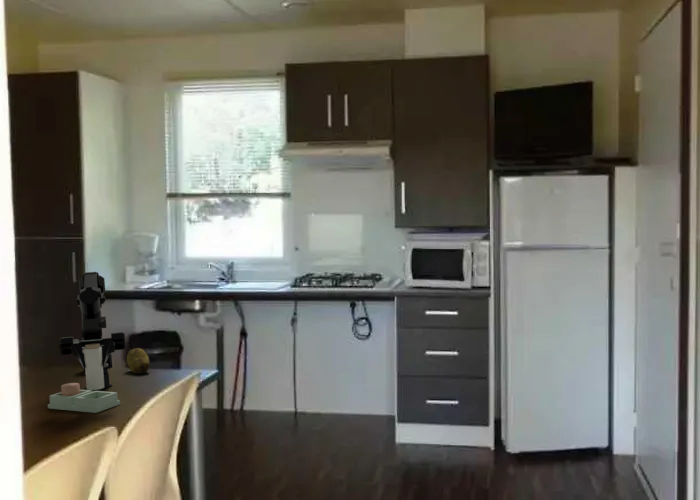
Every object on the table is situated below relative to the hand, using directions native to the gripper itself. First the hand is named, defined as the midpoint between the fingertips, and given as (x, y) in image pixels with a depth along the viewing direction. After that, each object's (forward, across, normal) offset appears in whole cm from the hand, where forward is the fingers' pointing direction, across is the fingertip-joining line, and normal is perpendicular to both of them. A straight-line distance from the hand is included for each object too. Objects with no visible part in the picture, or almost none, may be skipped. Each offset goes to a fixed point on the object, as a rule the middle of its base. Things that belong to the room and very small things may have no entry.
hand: (93, 366), depth 239 cm
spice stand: (+6, -4, +12) cm, 14 cm away
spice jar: (+4, 0, +6) cm, 7 cm away
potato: (-26, +14, +44) cm, 53 cm away
